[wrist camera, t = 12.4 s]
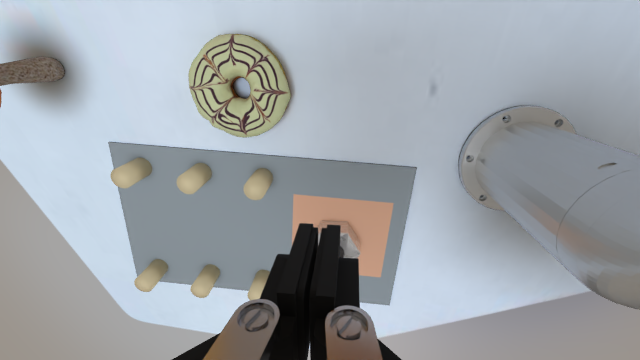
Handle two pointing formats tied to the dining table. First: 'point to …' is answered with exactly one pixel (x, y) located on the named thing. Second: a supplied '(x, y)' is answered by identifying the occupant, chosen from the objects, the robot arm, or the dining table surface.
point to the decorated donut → (217, 85)
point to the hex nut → (344, 238)
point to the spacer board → (252, 214)
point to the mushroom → (30, 71)
